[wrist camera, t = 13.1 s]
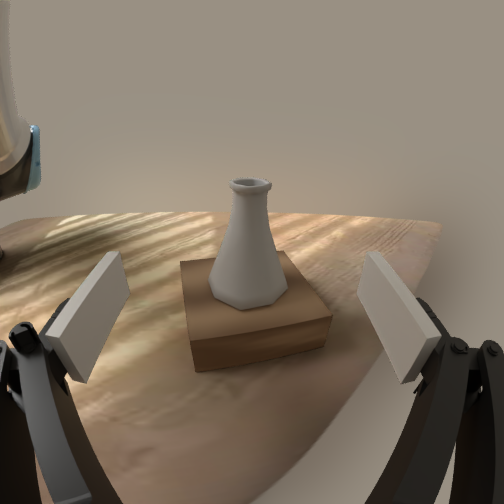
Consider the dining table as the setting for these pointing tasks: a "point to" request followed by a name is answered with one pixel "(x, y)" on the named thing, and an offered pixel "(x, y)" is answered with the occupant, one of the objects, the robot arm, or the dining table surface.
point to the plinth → (251, 320)
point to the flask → (248, 251)
